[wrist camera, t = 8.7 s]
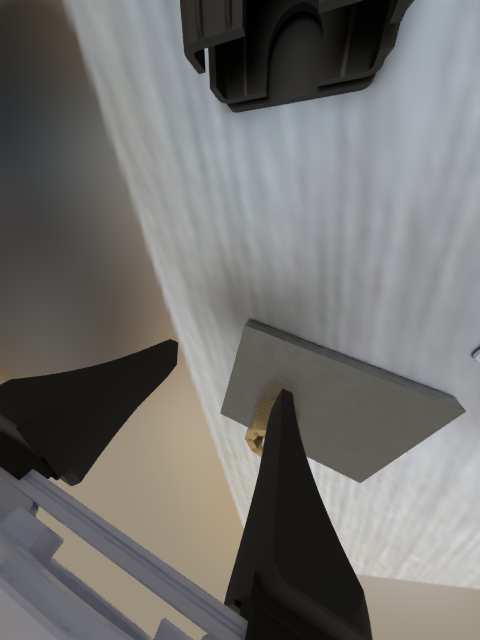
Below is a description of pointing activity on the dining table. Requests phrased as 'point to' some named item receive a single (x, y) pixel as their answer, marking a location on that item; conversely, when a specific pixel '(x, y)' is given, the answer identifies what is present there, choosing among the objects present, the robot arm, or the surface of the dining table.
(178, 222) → the dining table surface
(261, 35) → the end cap
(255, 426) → the bronze hub
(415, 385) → the shaft stand
